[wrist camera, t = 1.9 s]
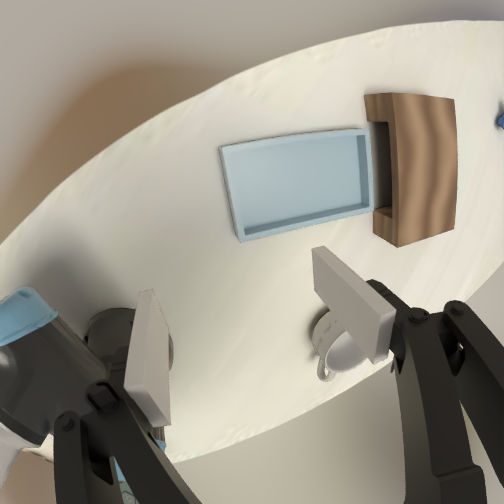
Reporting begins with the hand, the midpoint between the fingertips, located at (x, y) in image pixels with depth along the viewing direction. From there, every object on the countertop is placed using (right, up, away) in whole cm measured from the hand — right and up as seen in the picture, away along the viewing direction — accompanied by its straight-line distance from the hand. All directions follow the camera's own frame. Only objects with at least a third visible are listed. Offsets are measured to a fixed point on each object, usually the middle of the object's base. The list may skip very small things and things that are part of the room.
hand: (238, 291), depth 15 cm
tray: (+7, +12, +23) cm, 27 cm away
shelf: (+25, +17, +25) cm, 40 cm away
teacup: (+15, -12, +35) cm, 40 cm away
